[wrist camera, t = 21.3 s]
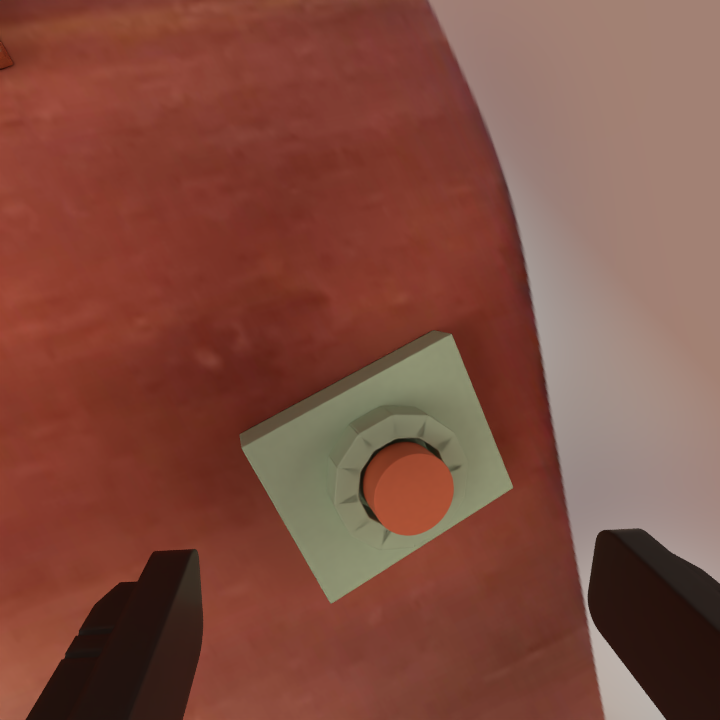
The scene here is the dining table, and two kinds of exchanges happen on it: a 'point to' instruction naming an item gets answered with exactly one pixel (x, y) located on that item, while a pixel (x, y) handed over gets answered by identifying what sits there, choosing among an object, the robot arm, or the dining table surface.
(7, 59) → the lever bracket
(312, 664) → the dining table surface
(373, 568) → the switch block
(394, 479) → the button
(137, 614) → the robot arm
